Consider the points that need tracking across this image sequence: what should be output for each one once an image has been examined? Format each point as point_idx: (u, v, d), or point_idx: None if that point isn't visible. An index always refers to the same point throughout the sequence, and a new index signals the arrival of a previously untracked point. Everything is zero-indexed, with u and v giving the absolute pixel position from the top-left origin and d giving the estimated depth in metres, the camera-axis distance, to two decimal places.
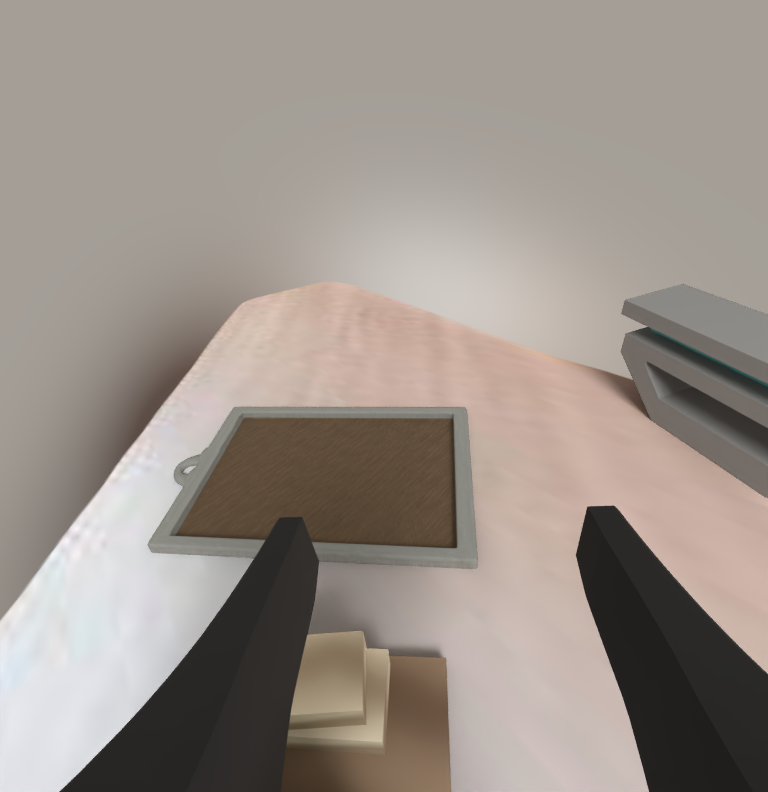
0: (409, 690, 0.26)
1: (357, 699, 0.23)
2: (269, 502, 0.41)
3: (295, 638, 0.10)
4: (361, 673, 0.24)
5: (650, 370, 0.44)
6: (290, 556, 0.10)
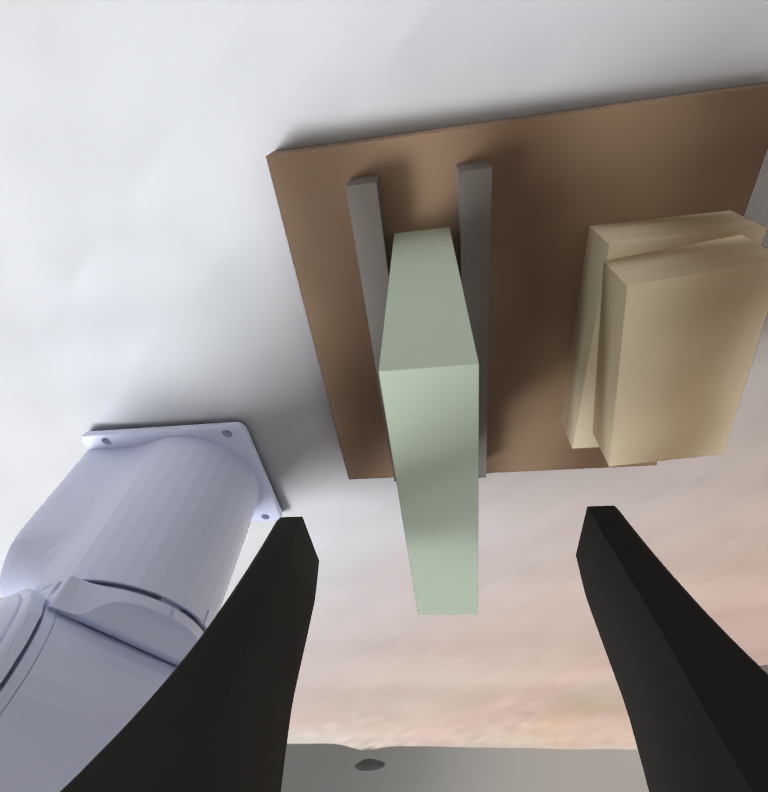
0: None
1: (623, 461, 0.17)
2: None
3: (295, 638, 0.10)
4: (657, 459, 0.17)
5: None
6: (290, 556, 0.10)
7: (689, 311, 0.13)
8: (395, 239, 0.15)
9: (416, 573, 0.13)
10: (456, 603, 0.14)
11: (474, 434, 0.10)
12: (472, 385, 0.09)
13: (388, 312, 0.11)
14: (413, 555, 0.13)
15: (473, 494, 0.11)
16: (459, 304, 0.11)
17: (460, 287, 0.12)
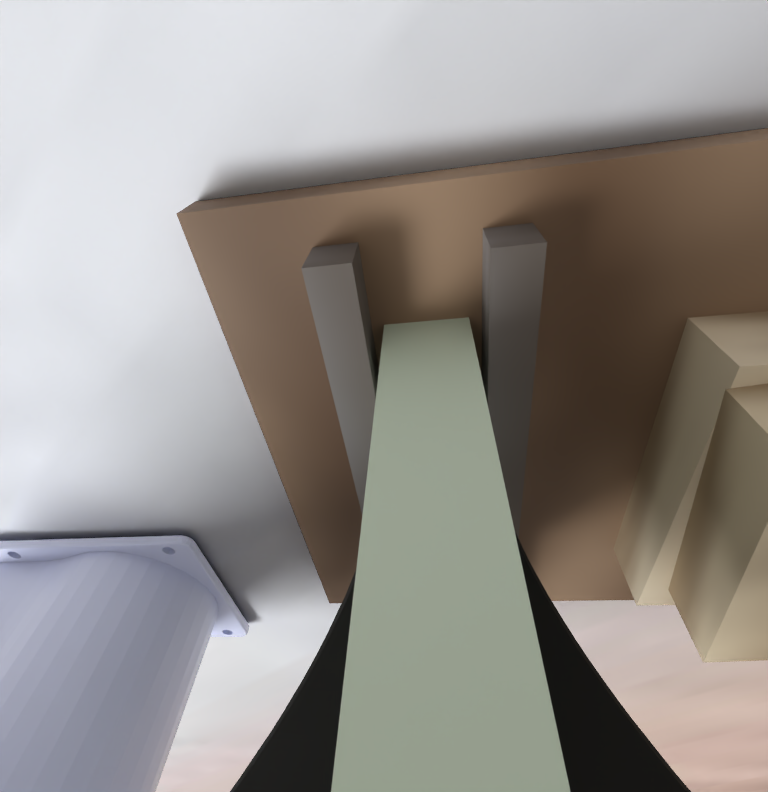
0: None
1: (725, 657, 0.11)
2: None
3: None
4: None
5: None
6: None
7: None
8: (385, 339, 0.10)
9: None
10: None
11: None
12: None
13: (362, 571, 0.05)
14: None
15: None
16: (507, 561, 0.05)
17: (503, 496, 0.06)
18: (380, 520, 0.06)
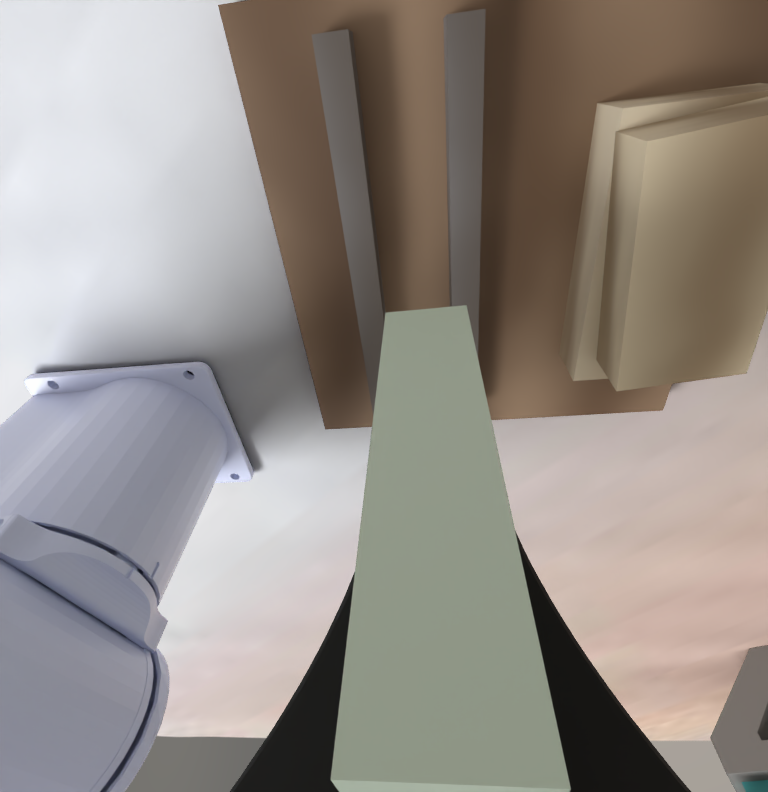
0: None
1: (632, 384, 0.15)
2: None
3: None
4: (671, 382, 0.15)
5: None
6: None
7: (719, 178, 0.11)
8: (387, 325, 0.10)
9: None
10: None
11: None
12: None
13: (366, 525, 0.06)
14: None
15: None
16: (499, 516, 0.06)
17: (496, 461, 0.06)
18: (382, 483, 0.06)
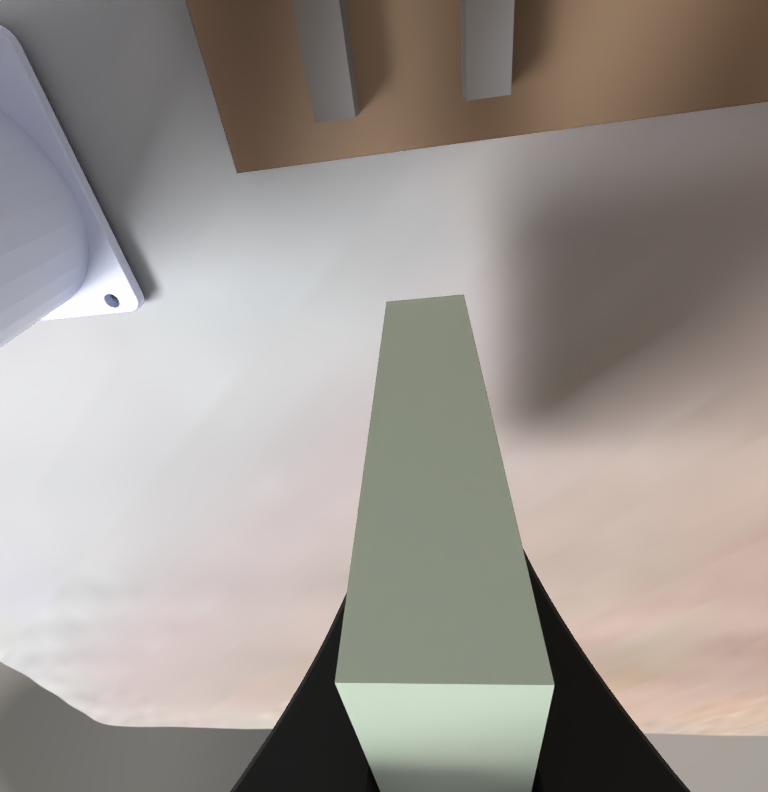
0: None
1: None
2: None
3: None
4: None
5: None
6: None
7: None
8: (387, 313, 0.11)
9: None
10: None
11: (530, 757, 0.05)
12: (535, 708, 0.04)
13: (367, 479, 0.06)
14: None
15: None
16: (491, 469, 0.06)
17: (490, 424, 0.07)
18: (383, 444, 0.07)
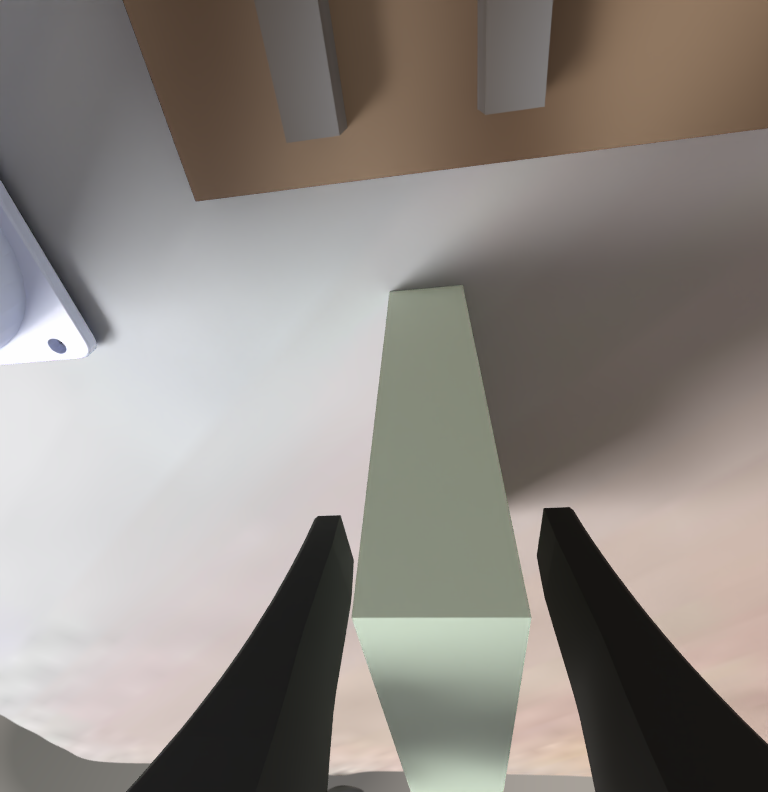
0: None
1: None
2: None
3: (336, 638, 0.10)
4: None
5: None
6: (332, 555, 0.10)
7: None
8: (391, 302, 0.12)
9: (416, 786, 0.09)
10: None
11: (513, 685, 0.06)
12: (516, 638, 0.05)
13: (375, 454, 0.07)
14: (412, 774, 0.09)
15: (504, 734, 0.07)
16: (485, 445, 0.07)
17: (485, 406, 0.08)
18: (388, 423, 0.08)
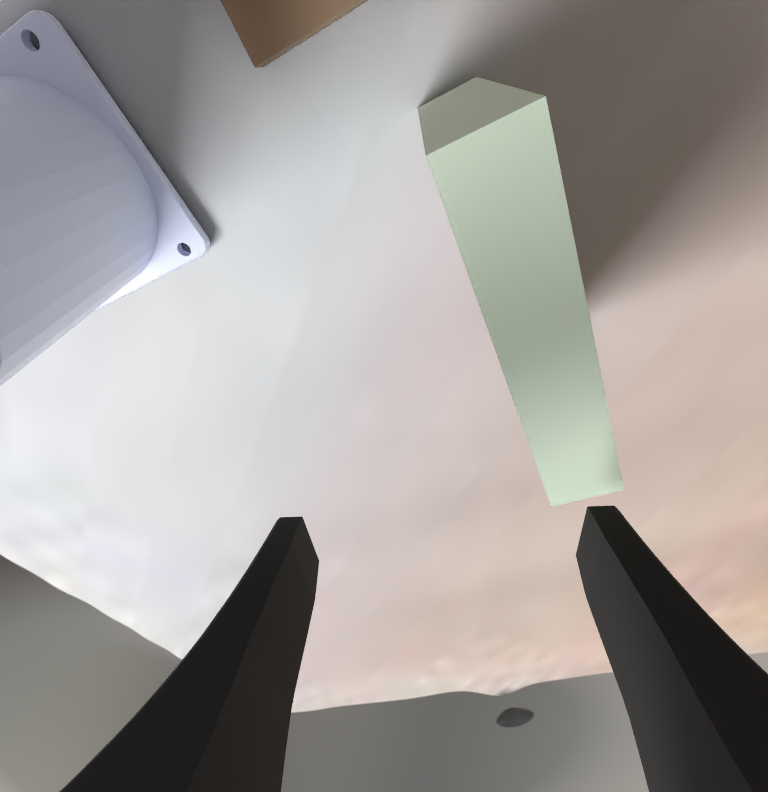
0: None
1: None
2: None
3: (295, 638, 0.10)
4: None
5: None
6: (290, 556, 0.10)
7: None
8: (420, 108, 0.14)
9: (536, 446, 0.11)
10: (594, 479, 0.12)
11: (563, 213, 0.08)
12: (544, 134, 0.07)
13: (425, 132, 0.09)
14: (527, 421, 0.11)
15: (581, 308, 0.09)
16: (505, 91, 0.09)
17: (502, 85, 0.10)
18: (431, 124, 0.10)
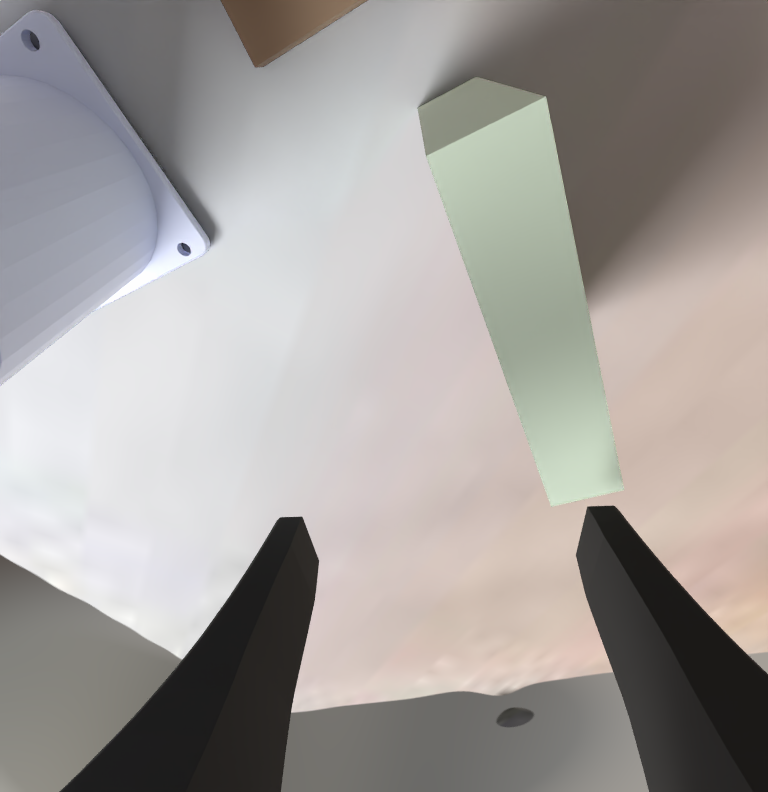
0: None
1: None
2: None
3: (295, 638, 0.10)
4: None
5: None
6: (290, 556, 0.10)
7: None
8: (420, 108, 0.14)
9: (536, 447, 0.11)
10: (594, 479, 0.12)
11: (563, 213, 0.08)
12: (544, 135, 0.07)
13: (425, 132, 0.09)
14: (527, 421, 0.11)
15: (581, 309, 0.09)
16: (505, 91, 0.09)
17: (502, 85, 0.10)
18: (431, 124, 0.10)
